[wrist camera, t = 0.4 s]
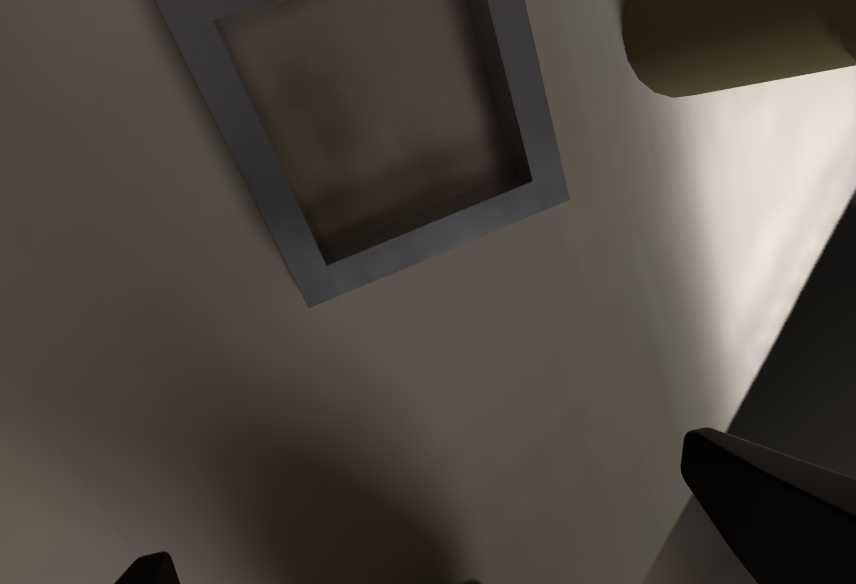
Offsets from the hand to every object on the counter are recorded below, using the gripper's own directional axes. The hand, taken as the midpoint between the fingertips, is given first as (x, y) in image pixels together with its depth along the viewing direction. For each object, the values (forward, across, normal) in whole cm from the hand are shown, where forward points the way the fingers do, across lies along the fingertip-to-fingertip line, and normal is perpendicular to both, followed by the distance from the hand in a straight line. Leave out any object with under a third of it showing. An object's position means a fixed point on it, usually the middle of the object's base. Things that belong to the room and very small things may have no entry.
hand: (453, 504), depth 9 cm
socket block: (+13, -1, -6) cm, 15 cm away
